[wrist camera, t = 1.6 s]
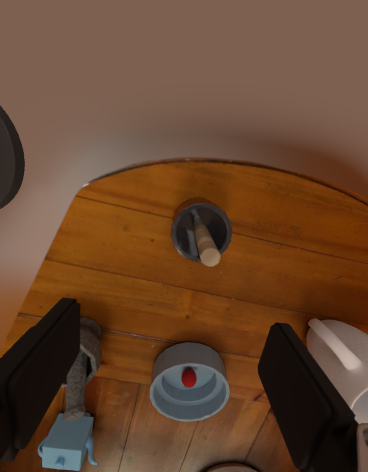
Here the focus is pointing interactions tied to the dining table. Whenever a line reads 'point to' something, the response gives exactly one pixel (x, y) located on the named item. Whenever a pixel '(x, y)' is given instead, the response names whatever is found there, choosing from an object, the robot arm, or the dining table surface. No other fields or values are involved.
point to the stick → (205, 243)
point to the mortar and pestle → (82, 369)
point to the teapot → (68, 444)
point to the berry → (189, 378)
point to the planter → (231, 468)
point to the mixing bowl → (197, 397)
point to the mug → (342, 361)
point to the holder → (213, 220)
